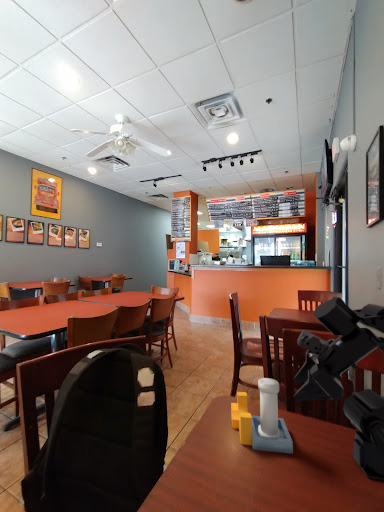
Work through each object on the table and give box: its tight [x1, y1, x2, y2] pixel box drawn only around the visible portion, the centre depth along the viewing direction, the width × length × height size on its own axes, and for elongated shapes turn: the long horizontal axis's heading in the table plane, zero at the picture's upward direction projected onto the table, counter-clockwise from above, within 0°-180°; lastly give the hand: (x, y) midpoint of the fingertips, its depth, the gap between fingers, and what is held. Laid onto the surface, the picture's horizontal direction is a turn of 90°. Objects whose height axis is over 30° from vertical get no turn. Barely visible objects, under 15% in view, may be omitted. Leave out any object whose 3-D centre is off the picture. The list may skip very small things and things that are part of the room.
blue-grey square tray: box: [251, 414, 294, 455], centre depth 60 cm, size 9×9×2 cm
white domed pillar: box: [257, 377, 280, 438], centre depth 60 cm, size 5×5×13 cm
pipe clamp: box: [230, 391, 252, 446], centre depth 64 cm, size 12×4×6 cm, turn 173°
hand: (294, 389), depth 57 cm, fingers open, 9 cm apart
